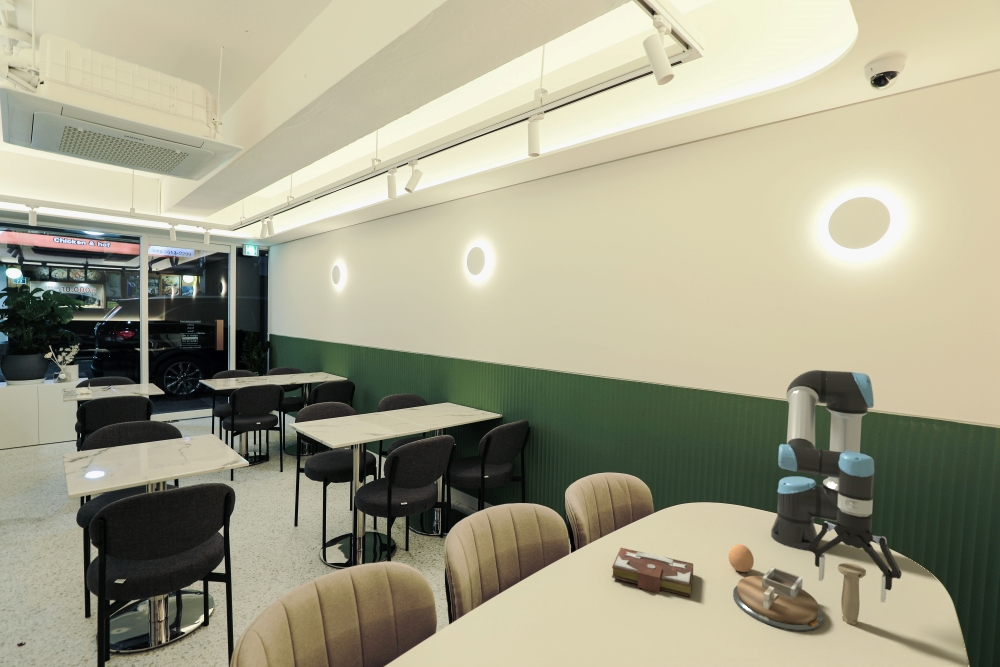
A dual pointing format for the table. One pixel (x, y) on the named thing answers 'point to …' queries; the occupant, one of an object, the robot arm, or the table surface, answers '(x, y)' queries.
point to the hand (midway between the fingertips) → (851, 589)
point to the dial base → (777, 624)
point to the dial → (778, 597)
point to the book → (653, 572)
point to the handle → (851, 591)
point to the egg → (741, 558)
